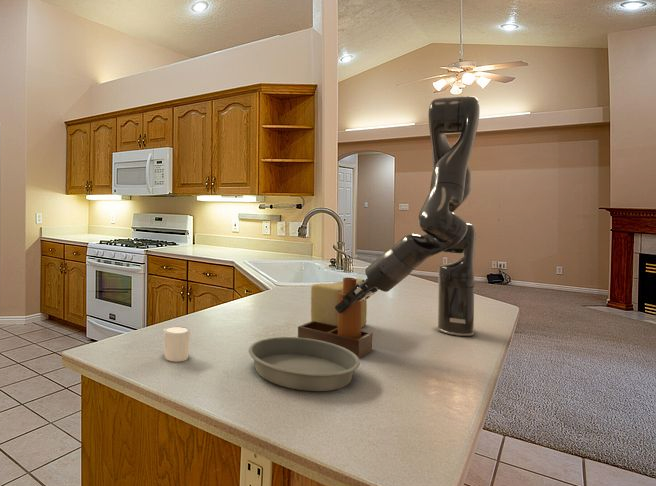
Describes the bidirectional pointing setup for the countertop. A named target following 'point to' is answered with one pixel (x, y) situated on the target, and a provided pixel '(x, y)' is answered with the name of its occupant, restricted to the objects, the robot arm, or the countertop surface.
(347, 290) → the bottle
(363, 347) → the holder
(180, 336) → the cream cylinder
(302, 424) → the countertop surface
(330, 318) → the cheese
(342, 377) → the cake pan
